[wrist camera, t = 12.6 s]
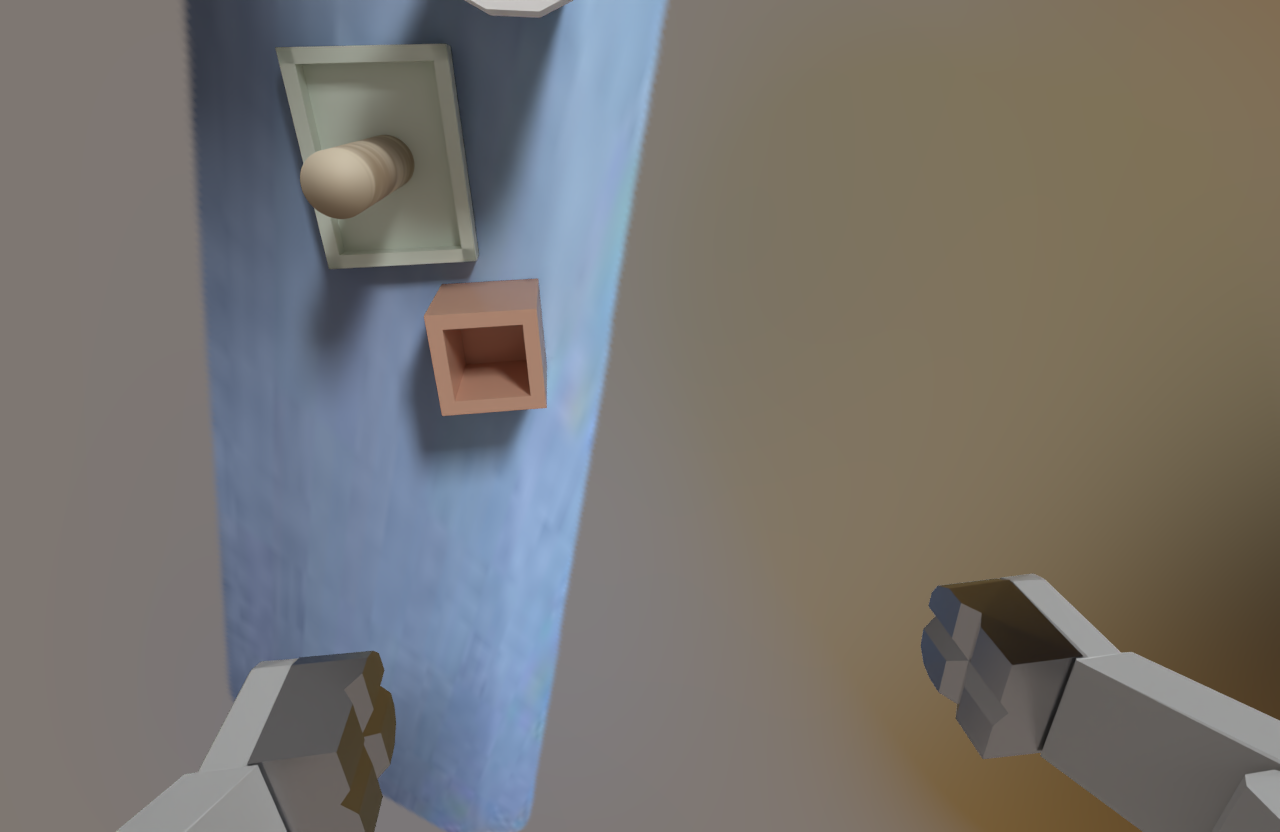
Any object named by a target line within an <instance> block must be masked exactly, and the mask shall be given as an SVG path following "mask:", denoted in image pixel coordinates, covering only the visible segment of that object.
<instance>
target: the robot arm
mask: <svg viewBox="0 0 1280 832" xmlns="http://www.w3.org/2000/svg"><path fill="white" fill-rule="evenodd" d="M929 607H930V609H931V610H932V611H933V612H934V614H935V618H933V619H932V620H931V621H930V623H929V624H928V625H927V626H926V627H925V628H924V630H923V635H922V642H921V650H922V656H923V662H924V666H925V668H926V670H927V673H928V675H929V677H930V679H931V681H932V682H933V684H934V686H935V687H936V689H937V690H938V692H939V693H940V694H942V695H944V696H946V697H947V698H948V699H950V700H952V701H954V702H955V703H957V711H956V719H957V721H958V722H959V724H960V725H961V727H962V728H963V730H964V731H965V733H966V734H967V736H968V738H969V739H970V741H971V742H972V744H973V745H974V747H975V748H976V750H977V751H978V752H979V754H980V756H981V757H982V758H983V759H988V758H997V757H1006V756H1015V755H1024V754H1033V753H1041V757H1043V758H1044V759H1045V760H1047V761H1048V762H1049V763H1051V764H1052V765H1053V766H1055V767H1056V768H1058V769H1059V770H1060V771H1061V772H1063V773H1065V774H1066V775H1067V776H1068V777H1070V778H1071V779H1072V780H1074V781H1075V782H1076V783H1078V784H1079V785H1080V786H1082V787H1083V788H1084V789H1086V790H1087V791H1089V792H1090V793H1091V794H1093V795H1094V796H1095V797H1097V798H1098V799H1099V800H1101V801H1102V802H1103V803H1105V804H1106V805H1108V806H1109V807H1110V808H1112V809H1113V810H1114V811H1116V812H1117V813H1118V814H1120V815H1121V816H1122V817H1124V818H1125V819H1126V820H1128V821H1129V822H1131V823H1132V824H1133V825H1135V826H1136V827H1137V828H1139V829H1140V830H1141V831H1143V832H1280V721H1279V720H1277V719H1275V718H1272V717H1271V716H1268V715H1266V714H1264V713H1262V712H1260V711H1258V710H1255V709H1253V708H1251V707H1249V706H1247V705H1245V704H1243V703H1240V702H1238V701H1236V700H1234V699H1232V698H1230V697H1228V696H1225V695H1223V694H1221V693H1219V692H1217V691H1215V690H1212V689H1210V688H1208V687H1206V686H1204V685H1201V684H1199V683H1197V682H1195V681H1193V680H1191V679H1189V678H1186V677H1184V676H1182V675H1180V674H1178V673H1176V672H1174V671H1172V670H1169V669H1167V668H1165V667H1163V666H1161V665H1158V664H1156V663H1154V662H1152V661H1150V660H1147V659H1146V658H1143V657H1141V656H1139V655H1137V654H1135V653H1133V652H1126V653H1121V652H1120V651H1118V650H1117V648H1115V646H1114V645H1112V644H1111V643H1110V642H1109V641H1108V640H1107V639H1106V638H1105V637H1104V636H1103V635H1102V634H1101V633H1100V632H1099V631H1098V630H1097V629H1096V628H1095V627H1094V626H1093V625H1092V624H1091V623H1090V622H1088V620H1086V619H1085V618H1084V617H1083V616H1082V615H1081V614H1080V613H1079V612H1078V611H1077V610H1076V609H1075V608H1074V607H1073V606H1072V605H1071V604H1070V603H1069V602H1068V601H1067V600H1066V599H1065V598H1064V597H1063V596H1062V595H1061V594H1060V593H1058V592H1057V591H1056V590H1055V589H1054V588H1053V587H1052V586H1051V585H1050V584H1049V583H1048V582H1047V581H1046V580H1045V579H1043V578H1042V577H1040V576H1037V575H1035V574H1026V575H1018V576H1011V577H1003V578H1000V579H989V580H980V581H972V582H964V583H956V584H949V585H940V586H937V588H936V589H935V590H934V591H933V592H932V595H931V598H930V603H929ZM383 674H384V667H383V664H382V661H381V658H380V655H379V653H378V652H375V651H366V652H354V653H343V654H332V655H321V656H310V657H299V658H298V659H286V660H275V661H263V662H260V663H259V664H258V665H257V666H255V667H254V668H253V669H252V670H251V671H250V673H249V675H248V677H247V679H246V681H245V682H244V684H243V686H242V688H241V690H240V692H239V694H238V696H237V698H236V700H235V702H234V703H233V705H232V707H231V709H230V711H229V713H228V715H227V717H226V719H225V721H224V723H223V725H222V726H221V728H220V730H219V732H218V734H217V736H216V738H215V740H214V742H213V744H212V746H211V747H210V749H209V751H208V753H207V755H206V757H205V759H204V761H203V763H202V765H201V767H200V768H199V770H198V772H197V773H190V774H185V775H183V776H182V777H181V778H180V779H179V780H177V781H176V782H175V783H174V784H173V785H171V786H170V787H169V788H168V789H166V790H165V791H164V792H163V793H162V794H160V795H159V796H158V797H157V798H156V799H155V800H153V801H152V802H151V803H150V804H148V805H147V806H146V807H145V808H144V809H142V810H141V811H140V812H139V813H138V814H136V815H135V816H134V817H133V818H132V819H130V820H129V821H128V822H127V823H126V824H125V825H123V826H122V827H121V828H120V829H118V830H117V831H116V832H374V830H375V826H376V822H377V818H378V814H379V810H380V806H381V801H382V797H383V796H382V793H381V789H380V786H379V783H378V780H377V779H378V778H379V777H380V775H381V774H382V773H383V772H384V771H385V770H386V769H387V768H388V767H389V766H390V763H391V759H392V754H393V750H394V745H395V730H396V717H395V708H394V703H393V699H392V695H391V693H390V692H389V691H387V690H386V689H384V688H383V687H381V686H380V684H381V681H382V677H383Z"/></svg>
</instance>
